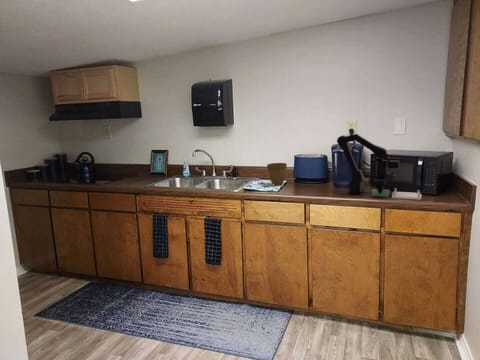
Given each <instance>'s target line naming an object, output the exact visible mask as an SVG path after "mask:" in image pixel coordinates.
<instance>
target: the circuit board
mask: <svg viewBox="0 0 480 360" xmlns="http://www.w3.org/2000/svg"><path fill="white" fill-rule="evenodd" d="M371 196H373V197H387V198H388V197H390V189H384V188H383V189H382V192H381V194H379V192H378V190H377V188H373V189H372V190H371Z"/></svg>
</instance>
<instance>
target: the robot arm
mask: <svg viewBox="0 0 480 360" xmlns="http://www.w3.org/2000/svg"><path fill="white" fill-rule="evenodd" d="M336 142H337V144H338V146H339V148H340V149H341V150H342V152H343V154H344V156H345V158H346V160H347V164H348V166H349V168H350V171H351V178H352V179H350V181H349V182H348V186H349V188H348V190H349V191H348V195H355V196H356V195H357V196H358V195H360V194H361V193H362V192H361V185H360V182H361V181H362V179H363V177H364V173H363V170H362V169H361V168H360V169H359V168H358V166H357V163H356V161H355V159H354V156H353V153H352V151H351V149H350V142H357V143H358V144H360V145H361V146H363V147H365V148H366V149H368V150H369V151H371V153H373V154H374V155H375V156H376V157H375V158H374V159H373V162H376V169H375V173H376V175H375V179H374V183H373V184H374V186H375V187H376V189H377V190H378V192H379V194H381V192H382V189H383V190H384V186H385V185H386V182H387V180H391V181H393V182H394V181H395V179H396V177H397V175H396V174H395V172H394V171H391V172H388V169H391V170H392V169H394V170H395V169H396V170H399V169H400V157H390V155H389V154H388V152H387V151H388V150H387V149H386V148H385V147H381V146H379V145H376V144H374V143H372V142H370V141H369V140H368V139H366V138H364V137H362V136H361V135H360V134H358V133H354V134H351V135H340V136H339V137H338V138H337V139H336ZM387 168H388V169H387Z"/></svg>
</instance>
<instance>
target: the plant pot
mask: <svg viewBox="0 0 480 360" xmlns="http://www.w3.org/2000/svg"><path fill="white" fill-rule="evenodd" d="M287 166H288V164H287V163H285V162H274V163H268V164H266V167H267V171H268V172H267V173H268V175H269V179H270V182H271V184H272V185H273V184H274V185H280V186H282V185H281V184H284V182H285V177H286V174H287ZM274 185H273V186H274Z"/></svg>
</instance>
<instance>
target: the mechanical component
mask: <svg viewBox="0 0 480 360" xmlns="http://www.w3.org/2000/svg"><path fill="white" fill-rule="evenodd" d="M370 181H371V178H369V177H366V178H365V176H363V179H362V181H361V182H360V183H359V184H360V186H361V193H363V192H364V186H365V185H366V184H368V183H370Z"/></svg>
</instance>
